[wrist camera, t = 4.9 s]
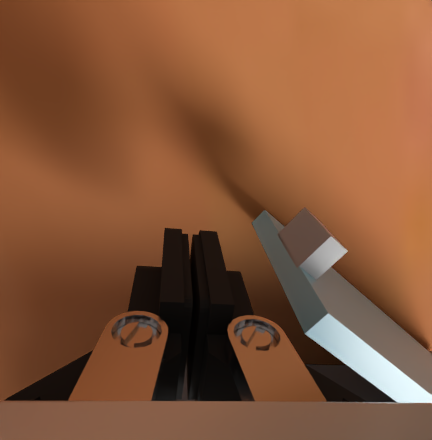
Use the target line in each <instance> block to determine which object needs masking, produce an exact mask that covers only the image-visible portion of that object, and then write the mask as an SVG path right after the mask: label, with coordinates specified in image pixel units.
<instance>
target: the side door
mask: <svg viewBox="0 0 432 440" xmlns="http://www.w3.org/2000/svg"><path fill="white" fill-rule="evenodd" d="M252 225H253V227H254V229H255V231H256V233H257V235H258V237H259V239H260V242H261V244H262V246H263V248H264V250H265V252H266V254H267V256H268V258H269V260H270V262H271V264H272V267H273V269H274V271H275V273H276V275H277V277H278V279H279V281H280V283H281V285H282V287H283V290H284V292H285V294H286V296H287V298H288V300H289V302H290V304H291V306H292V308H293V310H294V312H295V315H296V317H297V319H298V321H299V323H300V325H301V327H302V329H303V331H304V333H305V334H306V335H307V336H308V337H310V338H311V339H312V340H314V341H315V342H316V343H318V344H319V345H320V346H322V347H323V348H324V349H326V350H327V351H329V352H330V353H331V354H333V355H334V356H335V357H337V358H338V359H339V360H341V361H342V362H343V363H345V364H346V365H347V366H349V367H350V368H351V369H353V370H354V371H356V372H357V373H358V374H360V375H361V376H362V377H364V378H365V379H366V380H368V381H369V382H370V383H372V384H373V385H374V386H376V387H377V388H378V389H380V390H381V391H383V392H384V393H385V394H387V395H388V396H389V397H391V398H392V399H393V400H395V401H396V402H397V403H432V351H428V350H427V349H425V348H424V347H423V346H422V345H421V344H420V343H418V342H417V341H416V340H415V339H414V338H413V337H412V336H410V335H409V334H408V333H407V332H406V331H405V330H403V329H402V328H401V327H400V326H399V325H398V324H397V323H395V322H394V321H393V320H392V319H391V318H390V317H388V316H387V315H386V314H385V313H384V312H383V311H381V310H380V309H379V308H378V307H377V306H376V305H375V304H373V303H372V302H371V301H370V300H369V299H368V298H366V297H365V296H364V295H363V294H362V293H361V292H360V291H358V290H357V289H356V288H355V287H354V286H353V285H351V284H350V283H349V282H348V281H347V280H346V279H344V278H343V277H342V276H341V275H340V274H339V273H338V272H336V271H335V270H334V269H333V268H332V267H331V266H332V265H333V264H334V263H336V262H337V261H338V260H339V259H340V258H341V257H342V256H343V255H344V254H345V253H346V252H348V251H347V250H346V249H345V248H344V247H343V245H342V244H341V243H340V242H339V241H338V240H337V239H336V238H335V237H334V236H333V235H332V233H331V232H330V231H329V230H328V229H327V228H326V227H325V226H324V225H323V224H322V223H321V222H320V220H318V219H317V218H316V217H315V216H314V215H313V214H312V213H311V212H310V211H309V210H308V209H306V208H305V207H304V208H303V209H302V210H301V211H300V212H299V213H298V214H297V215H296V216H295V217H294V218H293V219H292V220H291V221H290V222H289V223H288V224H287V225H286V226H285V227H284V226H283V225H282V224H281V223H280V222H279V221H277V220H276V219H275V218H274V217H273V216H272V215H270V214H269V213H268V212H267V211H266V210H264V211H263V212H262V213H261V214H260V215H259V216H258V217H257V218H256V219H255V220H254V221H253V222H252Z"/></svg>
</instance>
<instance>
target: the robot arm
mask: <svg viewBox="0 0 432 440" xmlns="http://www.w3.org/2000/svg"><path fill="white" fill-rule="evenodd" d="M185 368H186V370H187V397H188V400H195V401H176V400H181V399H182V393H183V385H184V376H185ZM0 440H432V403H394V402H367V401H365V400H364V399H362V398H360V397H359V396H357V395H355V394H354V393H352V392H350V391H349V390H347V389H346V388H344V387H342V386H341V385H339V384H337V383H336V382H334V381H332V380H331V379H329V378H327V377H326V376H324V375H322V374H321V373H319V372H317V371H316V370H314V369H312V368H311V367H309V366H307V365H306V364H304V363H303V362H302V360H301V358H300V357H299V355H298V353H297V352H296V350H295V349H294V347H293V345H292V344H291V342H290V340H289V339H288V337H287V336H286V334H285V332H284V331H283V330H282V329H281V328H280V326H278V325H277V324H276V323H274V322H273V321H271V320H269V319H266V318H264V317H260V316H254V314H253V310H252V307H251V304H250V301H249V298H248V294H247V291H246V288H245V285H244V282H243V278H242V275H241V273H240V272H238V271H226V267H225V263H224V259H223V255H222V251H221V247H220V243H219V239H218V235H217V232H213V231H200V232H199V235H194V234H193V237H192V246H191V255H189V241H188V234H182V229H171V228H165V232H164V245H163V258H162V267H149V266H137V267H136V272H135V278H134V283H133V288H132V293H131V298H130V303H129V309H128V312H125V313H122V314H120V315H117V316H116V317H114V318H113V319H111V320H110V321H109V322H108V324H107V325H106V326H105V328H104V330H103V332H102V334H101V336H100V338H99V340H98V342H97V344H96V346H95V348H94V350H93V351H91V352H89V353H88V354H86V355H84V356H82V357H80V358H79V359H77V360H75V361H73V362H72V363H70V364H68V365H66V366H64V367H63V368H61V369H59V370H57V371H55V372H54V373H52V374H50V375H48V376H46V377H45V378H43V379H41V380H39V381H37V382H36V383H34V384H32V385H30V386H28V387H27V388H25V389H23V390H21V391H19V392H18V393H16V394H14V395H12V396H11V397H9V398H7V399H6V400H4V401H0Z"/></svg>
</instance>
